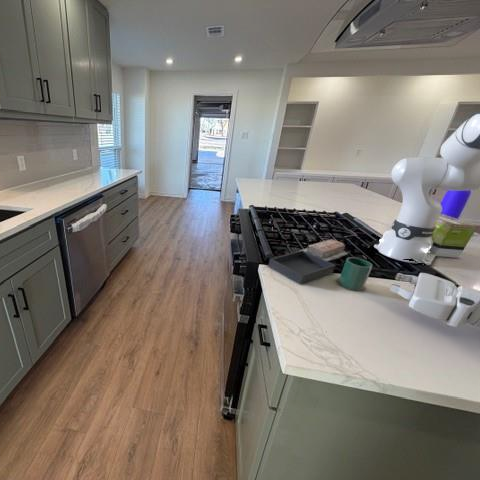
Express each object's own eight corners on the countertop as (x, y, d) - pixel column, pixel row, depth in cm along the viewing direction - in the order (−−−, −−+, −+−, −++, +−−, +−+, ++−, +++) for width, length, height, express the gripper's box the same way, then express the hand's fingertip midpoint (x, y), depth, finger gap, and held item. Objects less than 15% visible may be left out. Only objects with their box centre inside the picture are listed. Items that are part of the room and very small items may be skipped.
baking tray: (300, 256, 101) (302, 250, 100) (333, 272, 91) (335, 265, 90) (268, 265, 94) (269, 258, 92) (300, 284, 83) (302, 276, 82)
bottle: (441, 230, 136) (470, 173, 124) (454, 236, 129) (486, 176, 117) (423, 228, 138) (450, 172, 126) (434, 234, 130) (464, 175, 118)
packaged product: (327, 236, 110) (351, 244, 102) (323, 246, 112) (347, 255, 104) (301, 243, 102) (325, 253, 94) (298, 253, 104) (322, 264, 96)
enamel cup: (345, 277, 88) (353, 255, 84) (367, 287, 82) (376, 264, 79) (334, 282, 85) (342, 259, 81) (355, 292, 79) (365, 269, 76)
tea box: (405, 241, 119) (420, 211, 113) (427, 243, 118) (443, 213, 112) (434, 256, 105) (453, 222, 99) (459, 258, 104) (480, 225, 99)
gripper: (467, 279, 71) (402, 261, 80) (469, 310, 58) (392, 284, 67) (456, 298, 73) (394, 278, 83) (455, 331, 61) (383, 303, 70)
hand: (393, 281), depth 75 cm, fingers open, 8 cm apart
